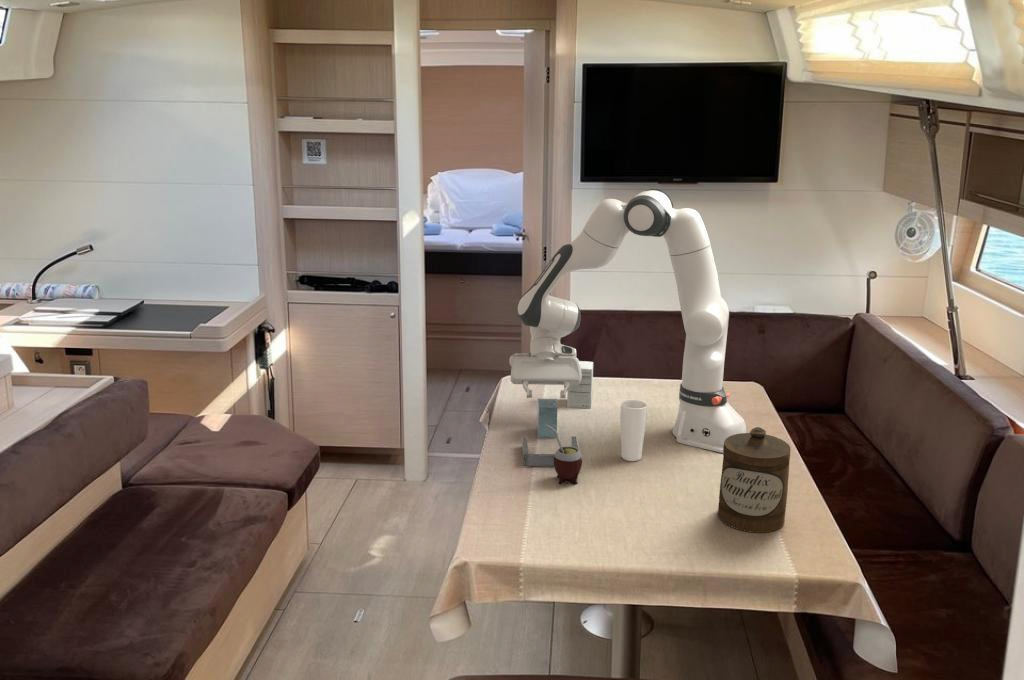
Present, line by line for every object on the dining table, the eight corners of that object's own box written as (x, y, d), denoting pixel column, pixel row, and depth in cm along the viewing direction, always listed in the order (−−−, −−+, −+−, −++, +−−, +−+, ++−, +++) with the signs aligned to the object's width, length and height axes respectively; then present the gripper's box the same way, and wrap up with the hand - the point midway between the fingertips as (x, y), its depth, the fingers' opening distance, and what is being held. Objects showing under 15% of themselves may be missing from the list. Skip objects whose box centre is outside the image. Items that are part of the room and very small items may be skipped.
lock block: (537, 427, 270) (537, 397, 268) (554, 427, 270) (555, 397, 268) (538, 438, 263) (539, 407, 260) (556, 438, 263) (557, 407, 260)
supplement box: (568, 399, 293) (569, 360, 290) (592, 400, 292) (594, 361, 289) (566, 407, 286) (567, 367, 283) (591, 409, 285) (592, 368, 282)
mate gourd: (587, 480, 237) (589, 423, 232) (566, 490, 231) (568, 432, 227) (564, 471, 242) (565, 416, 237) (543, 480, 236) (545, 424, 232)
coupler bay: (522, 446, 257) (522, 436, 256) (575, 446, 257) (575, 436, 256) (523, 466, 244) (523, 455, 243) (579, 466, 244) (580, 455, 244)
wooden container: (712, 526, 214) (720, 434, 208) (723, 499, 228) (730, 412, 221) (780, 538, 209) (790, 445, 203) (787, 510, 222) (796, 422, 216)
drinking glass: (647, 455, 252) (650, 402, 248) (639, 465, 246) (642, 410, 242) (623, 451, 255) (625, 398, 250) (614, 460, 249) (617, 406, 245)
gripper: (509, 347, 272) (509, 391, 265) (581, 349, 272) (583, 392, 266) (509, 358, 277) (509, 401, 271) (579, 359, 278) (581, 402, 271)
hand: (546, 397), depth 268 cm, fingers open, 8 cm apart
